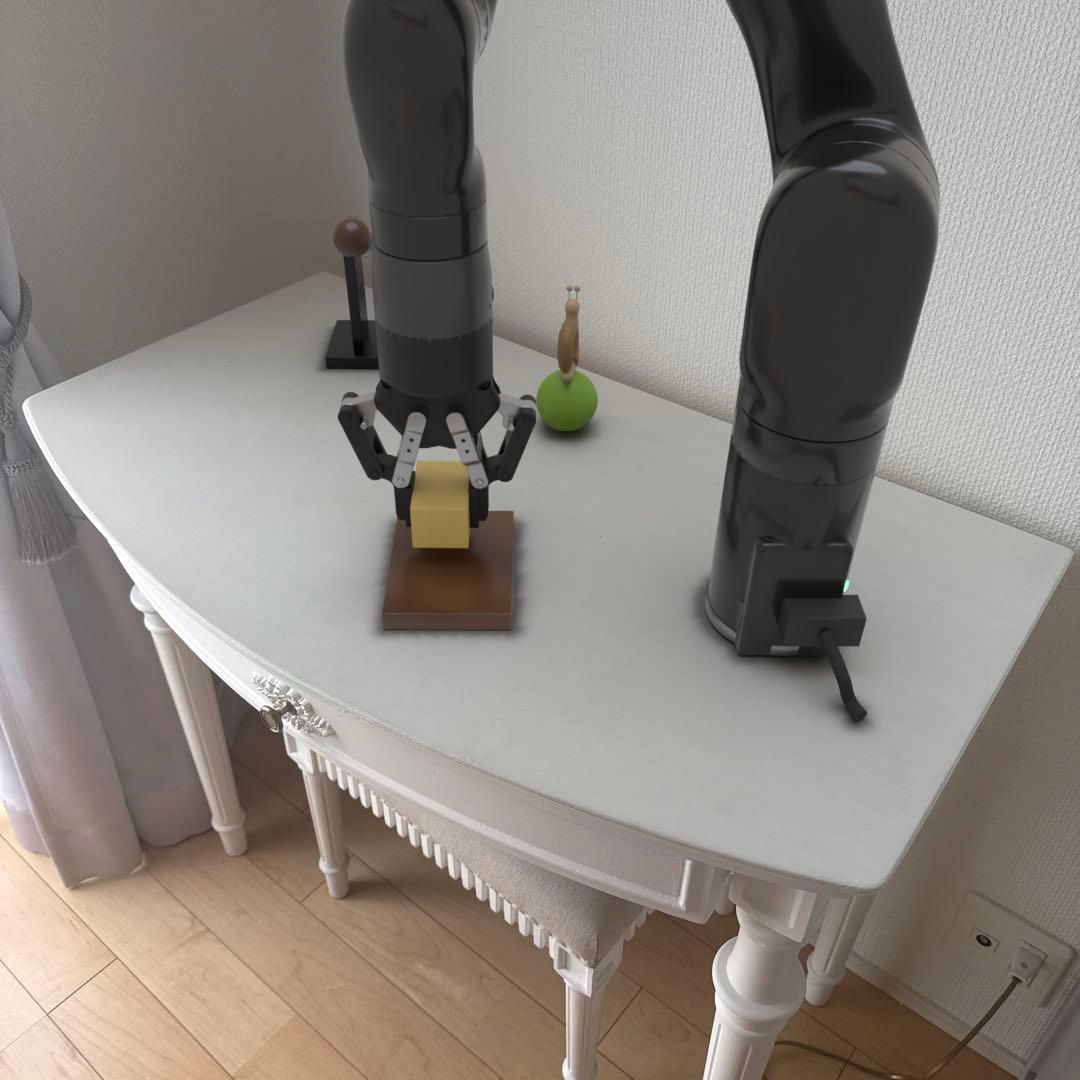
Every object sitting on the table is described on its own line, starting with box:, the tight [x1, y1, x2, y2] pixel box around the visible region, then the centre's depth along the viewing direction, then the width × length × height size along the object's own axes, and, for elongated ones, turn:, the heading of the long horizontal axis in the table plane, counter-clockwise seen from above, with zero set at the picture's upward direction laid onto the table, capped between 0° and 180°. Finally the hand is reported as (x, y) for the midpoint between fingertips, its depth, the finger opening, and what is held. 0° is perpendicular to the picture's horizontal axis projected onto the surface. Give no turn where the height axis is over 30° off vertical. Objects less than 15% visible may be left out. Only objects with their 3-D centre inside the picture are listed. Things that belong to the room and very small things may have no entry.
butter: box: [410, 460, 470, 548], centre depth 76 cm, size 6×4×4 cm, turn 0°
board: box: [380, 510, 515, 631], centre depth 77 cm, size 12×9×2 cm
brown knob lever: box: [332, 216, 373, 259], centre depth 92 cm, size 15×3×3 cm, turn 1°
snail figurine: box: [535, 284, 599, 432], centre depth 91 cm, size 5×6×12 cm
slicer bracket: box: [324, 216, 379, 369], centre depth 101 cm, size 8×10×13 cm
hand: (443, 520), depth 77 cm, fingers closed on butter, 4 cm apart
